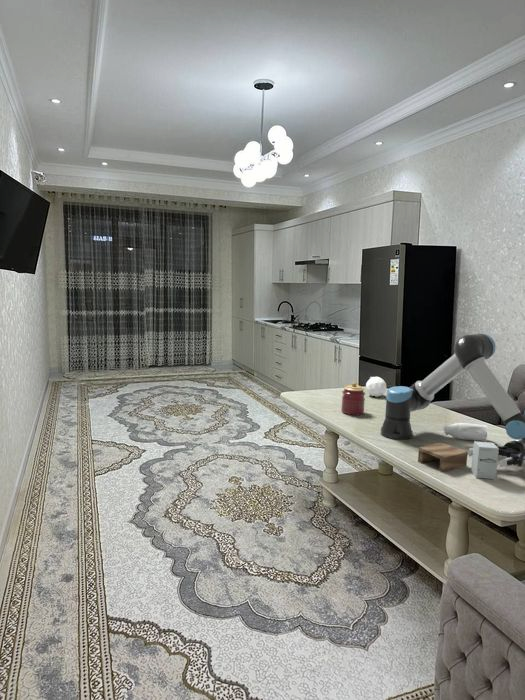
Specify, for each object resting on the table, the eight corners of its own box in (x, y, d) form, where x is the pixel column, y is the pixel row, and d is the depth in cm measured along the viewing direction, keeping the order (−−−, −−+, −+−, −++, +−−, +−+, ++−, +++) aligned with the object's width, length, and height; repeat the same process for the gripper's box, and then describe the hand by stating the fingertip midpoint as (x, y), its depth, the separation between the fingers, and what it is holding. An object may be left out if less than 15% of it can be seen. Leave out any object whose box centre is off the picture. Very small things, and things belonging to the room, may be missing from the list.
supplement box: (475, 478, 187) (478, 446, 185) (470, 471, 194) (473, 440, 193) (496, 480, 186) (499, 448, 184) (490, 472, 193) (493, 442, 192)
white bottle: (442, 435, 242) (443, 419, 241) (483, 438, 237) (484, 423, 236) (444, 439, 234) (445, 423, 233) (486, 443, 230) (488, 427, 229)
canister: (362, 410, 285) (364, 380, 282) (365, 416, 272) (367, 385, 270) (340, 409, 286) (342, 379, 284) (341, 414, 273) (343, 384, 271)
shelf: (417, 461, 204) (419, 447, 203) (440, 456, 211) (441, 442, 210) (443, 471, 193) (444, 457, 192) (466, 466, 200) (467, 452, 199)
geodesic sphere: (358, 388, 319) (371, 373, 315) (362, 384, 332) (375, 369, 327) (374, 403, 316) (389, 388, 311) (378, 398, 329) (392, 384, 324)
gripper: (546, 468, 189) (514, 478, 178) (488, 449, 210) (456, 456, 200) (548, 450, 188) (516, 459, 177) (490, 432, 209) (458, 439, 199)
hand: (484, 457), depth 188 cm, fingers open, 13 cm apart
